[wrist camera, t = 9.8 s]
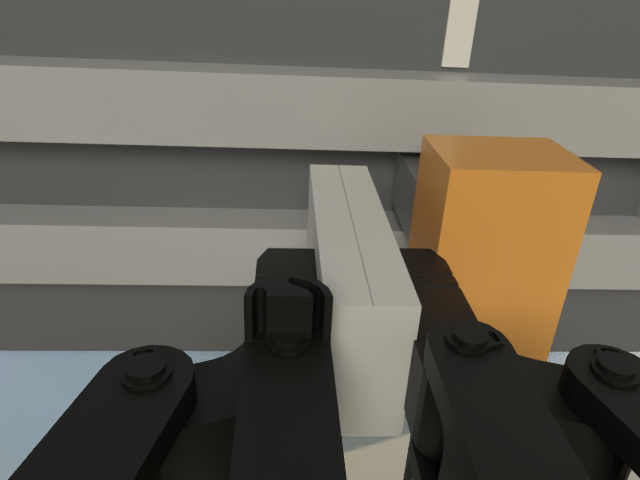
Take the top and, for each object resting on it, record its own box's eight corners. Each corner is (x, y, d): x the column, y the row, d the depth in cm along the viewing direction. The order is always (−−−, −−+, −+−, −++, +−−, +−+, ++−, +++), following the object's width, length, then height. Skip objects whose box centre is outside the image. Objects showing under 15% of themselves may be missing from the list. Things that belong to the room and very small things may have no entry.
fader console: (-137, 317, 21) (-211, 378, 18) (-310, -113, 15) (-471, -134, 12) (612, 321, 23) (662, 377, 20) (742, -56, 17) (847, -60, 14)
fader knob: (377, 246, 18) (418, 373, 13) (393, 96, 16) (450, 169, 10) (464, 247, 19) (543, 373, 13) (492, 99, 16) (601, 173, 11)
